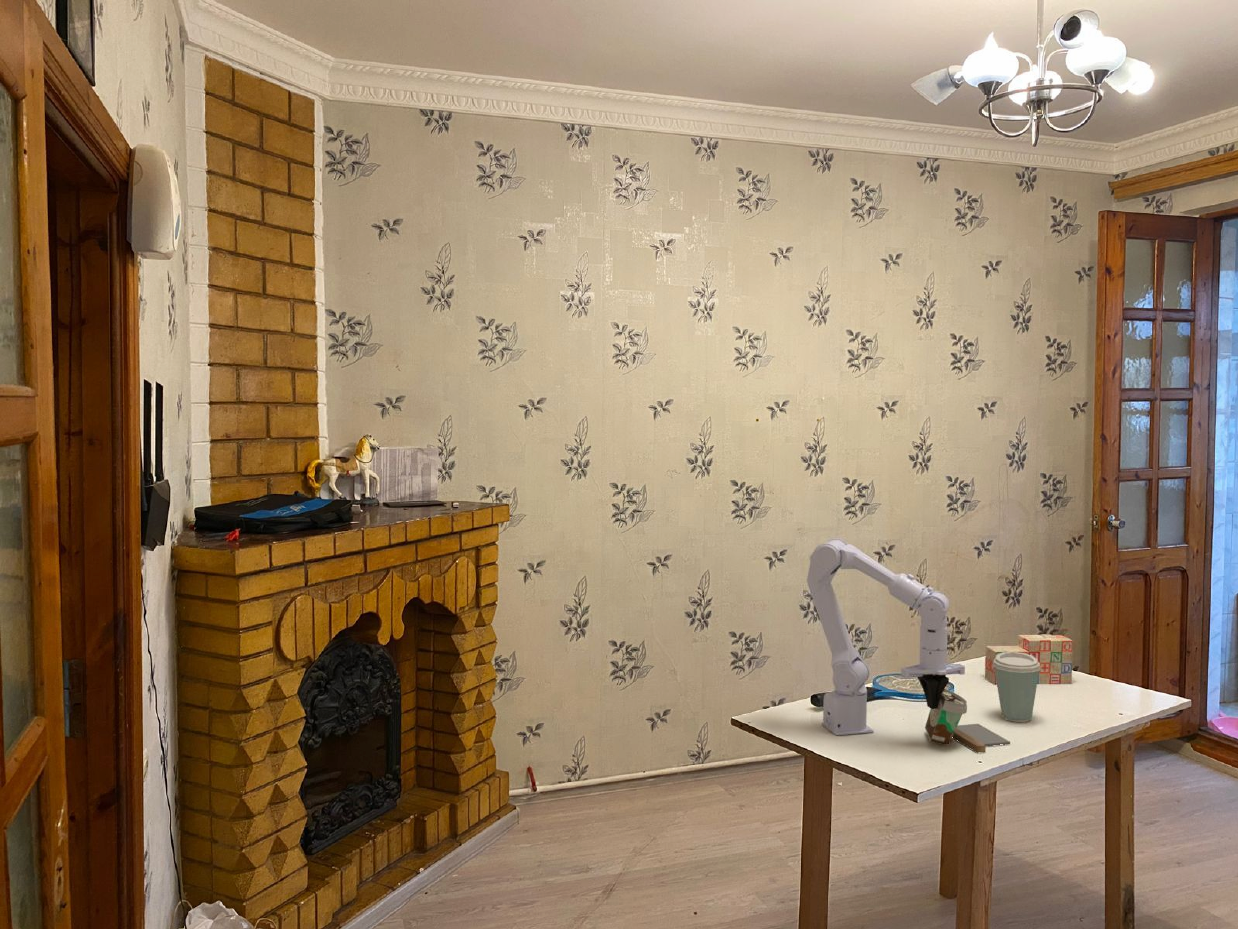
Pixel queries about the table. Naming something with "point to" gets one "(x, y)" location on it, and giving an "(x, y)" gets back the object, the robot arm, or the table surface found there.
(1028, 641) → the stack of blocks
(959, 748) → the table surface
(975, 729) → the rubber mat
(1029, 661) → the disposable coffee cup
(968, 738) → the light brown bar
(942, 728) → the food container
